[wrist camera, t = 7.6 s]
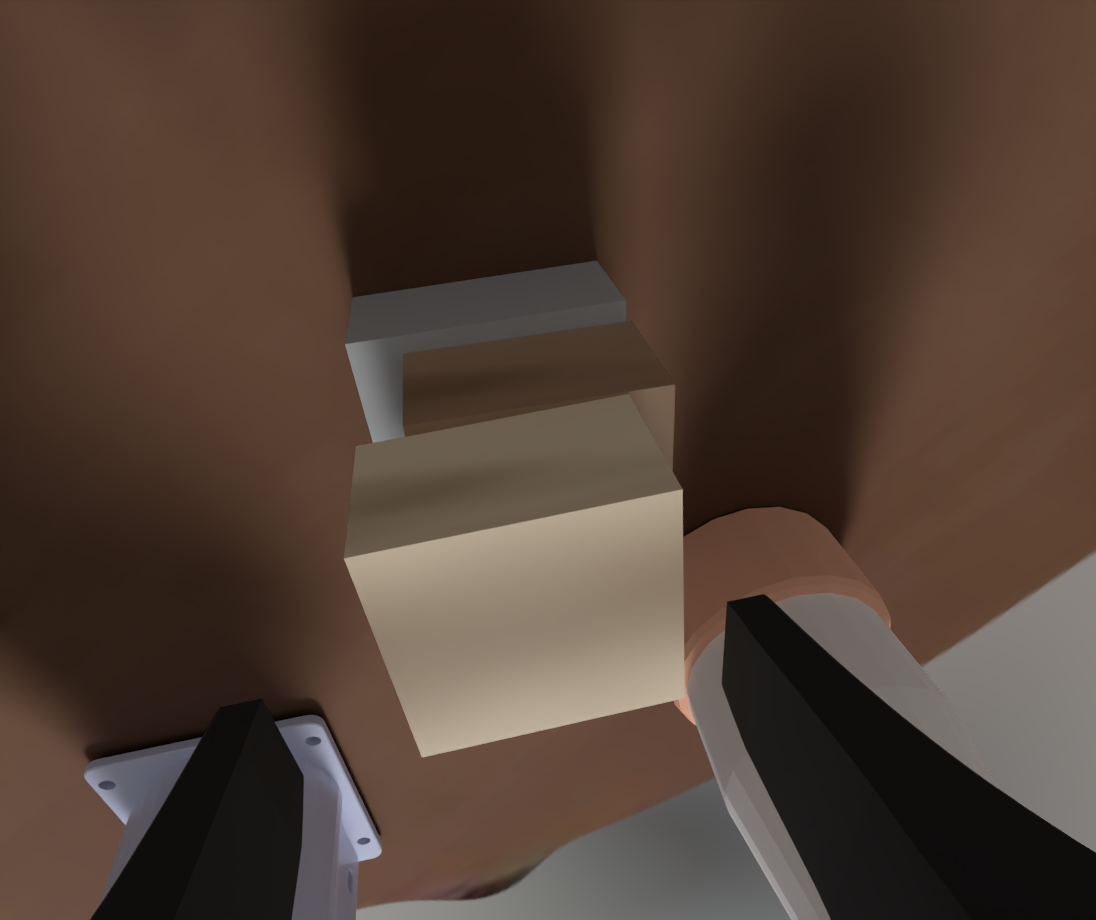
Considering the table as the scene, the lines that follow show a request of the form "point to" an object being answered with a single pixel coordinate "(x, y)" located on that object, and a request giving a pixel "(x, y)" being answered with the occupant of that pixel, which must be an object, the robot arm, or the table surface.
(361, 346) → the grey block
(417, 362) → the walnut block
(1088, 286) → the table surface
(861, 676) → the pepper shaker
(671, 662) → the oak block
